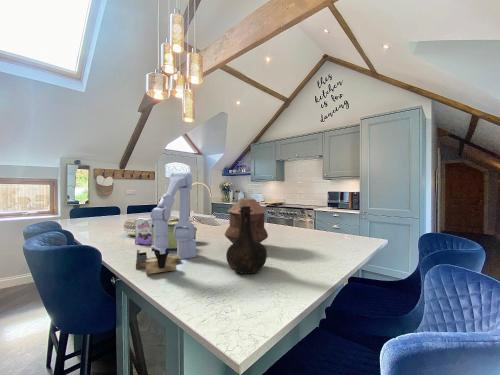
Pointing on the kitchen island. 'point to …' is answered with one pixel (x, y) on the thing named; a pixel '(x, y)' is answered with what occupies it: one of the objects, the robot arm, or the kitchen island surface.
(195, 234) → the food container
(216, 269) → the kitchen island surface
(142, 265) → the walnut base board
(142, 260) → the cup bracket
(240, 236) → the dark brown ceramic vase
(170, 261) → the oak rail
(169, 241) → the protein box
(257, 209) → the pottery vessel
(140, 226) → the candy box
